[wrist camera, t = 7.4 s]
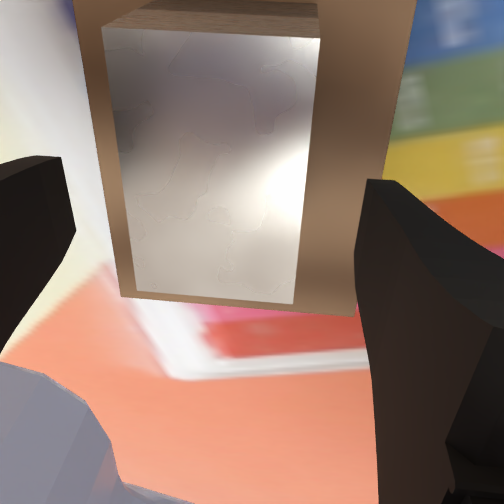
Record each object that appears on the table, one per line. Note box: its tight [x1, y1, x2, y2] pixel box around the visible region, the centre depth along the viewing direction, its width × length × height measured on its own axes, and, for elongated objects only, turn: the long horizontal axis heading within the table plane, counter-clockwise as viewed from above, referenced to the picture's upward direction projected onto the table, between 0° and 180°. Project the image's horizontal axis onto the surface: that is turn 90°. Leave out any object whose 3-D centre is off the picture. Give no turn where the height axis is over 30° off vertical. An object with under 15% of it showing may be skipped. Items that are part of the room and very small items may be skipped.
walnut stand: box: [72, 0, 417, 317], centre depth 17 cm, size 16×10×2 cm, turn 178°
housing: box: [101, 0, 320, 304], centre depth 14 cm, size 7×4×5 cm, turn 178°
